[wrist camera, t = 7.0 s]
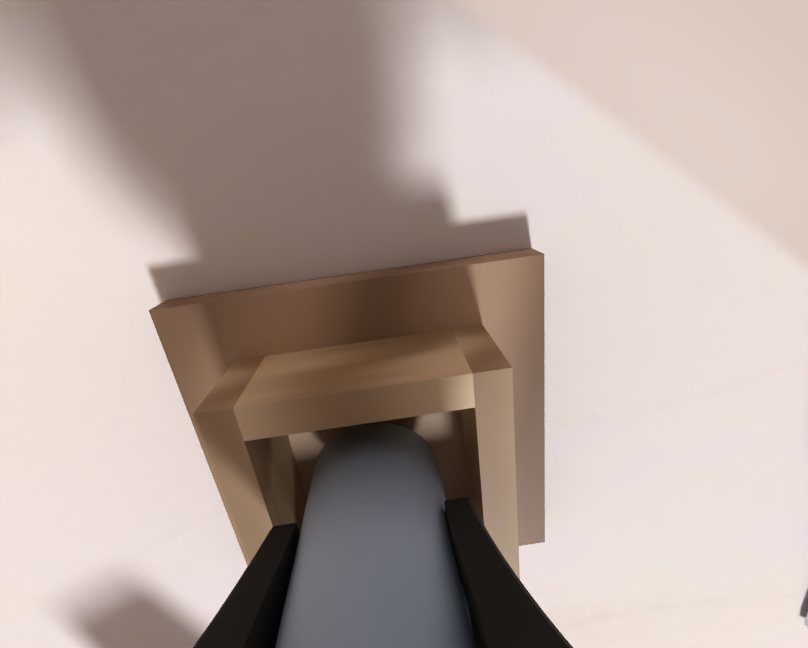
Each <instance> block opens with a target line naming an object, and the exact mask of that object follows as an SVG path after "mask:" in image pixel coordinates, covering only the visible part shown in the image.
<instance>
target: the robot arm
mask: <svg viewBox="0 0 808 648" xmlns="http://www.w3.org/2000/svg"><path fill="white" fill-rule="evenodd" d="M444 504H445V512H446V517H447V522H448V527H449V532H450V537H451V542H452V547H453V551H454V555H455V558H456V562H457V566H458V570H459V574H460V577H461V581H462V585H463V589H464V593H465V597H466V601H467V606H468V610H469V615H470V620H471V625H472V630H473V635H474V639H475V644H476V648H573V647H572V646H571V645H570V644H569V642H568V641H567V640H566V639H565V638H564V636H563V635H562V634H561V633H560V632H559V630H558V629H557V628H556V627H555V626H554V624H553V623H552V622H551V621H550V619H549V618H548V617H547V616H546V614H545V613H544V612H543V610H542V609H541V608H540V607H539V605H538V604H537V603H536V601H535V600H534V599H533V597H532V596H531V595H530V593H529V592H528V591H527V589H526V588H525V587H524V585H523V584H522V582H521V581H520V580H519V578H518V577H517V575H516V574H515V573H514V571H513V570H512V568H511V567H510V565H509V564H508V562H507V561H506V559H505V558H504V556H503V555H502V553H501V552H500V550H499V549H498V547H497V546H496V544H495V543H494V541H493V539H492V538H491V536H490V534H489V533H488V531H487V529H486V528H485V526H484V524H483V522H482V520H481V519H480V517H479V515H478V513H477V511H476V509H475V507H474V505H473V502H472V500H470V499H469V498H467V497H466V498H460V499H453V500H446V501H444ZM299 535H300V532H299V529H298V525H297V523H291V524H284V525H277V526H273V527H272V529H271V530H270V531H269V533H268V535H267V536H266V538H265V539H264V541H263V543H262V544H261V546H260V548H259V549H258V551H257V552H256V554H255V556H254V557H253V559H252V560H251V562H250V564H249V565H248V567H247V568H246V570H245V572H244V573H243V575H242V576H241V578H240V579H239V581H238V583H237V584H236V586H235V587H234V589H233V590H232V592H231V593H230V595H229V596H228V598H227V599H226V601H225V602H224V604H223V605H222V607H221V608H220V610H219V611H218V613H217V614H216V616H215V617H214V619H213V620H212V622H211V623H210V624H209V626H208V627H207V629H206V630H205V631H204V633H203V634H202V636H201V637H200V638H199V640H198V641H197V643H196V644H195V645H194V647H193V648H275V645H276V640H277V636H278V631H279V627H280V622H281V618H282V613H283V608H284V604H285V599H286V595H287V590H288V586H289V581H290V576H291V572H292V567H293V563H294V558H295V554H296V549H297V545H298V540H299ZM805 626H806V627H807V628H808V613H807V616H806V619H805Z"/></svg>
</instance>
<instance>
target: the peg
mask: <svg viewBox="0 0 808 648" xmlns="http://www.w3.org/2000/svg"><path fill="white" fill-rule="evenodd" d="M444 501H446V498H445V494H444V489H443V484H442V479H441V474H440V469H439V464H438V460H437V457H436V454H435V452H434V451H433V449H432V447H431V446H430V445H429V443H428V442H427V441H426V440H425V439H424V438H423V437H421V436H420V435H419V434H417V433H416V432H414V431H412V430H410V429H408V428H406V427H403V426H400V425H396V424H391V423H381V422H374V423H366V424H360V425H357V426H354V427H350V428H348V429H346V430H344V431H342V432H340V433H339V434H337V435H336V436H334V437H333V438H332V439H331V440H329V442H328V443H327V444H326V445H325V446H324V447H323V449H322V450H321V451H320V453H319V455H318V457H317V460H316V463H315V467H314V471H313V476H312V481H311V485H310V490H309V494H308V499H307V503H306V508H305V513H304V517H303V522H302V526H301V531H300V535H299V540H298V545H297V549H296V554H295V558H294V563H293V567H292V572H291V576H290V581H289V586H288V590H287V595H286V599H285V604H284V608H283V613H282V618H281V622H280V627H279V631H278V636H277V640H276V645H275V648H476V644H475V639H474V635H473V630H472V625H471V620H470V615H469V610H468V606H467V601H466V597H465V593H464V589H463V585H462V581H461V577H460V574H459V570H458V566H457V562H456V558H455V555H454V551H453V547H452V542H451V537H450V532H449V527H448V522H447V517H446V512H445V504H444Z"/></svg>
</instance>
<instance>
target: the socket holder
mask: <svg viewBox="0 0 808 648" xmlns="http://www.w3.org/2000/svg"><path fill="white" fill-rule="evenodd" d="M149 312H150V315H151V317H152V320H153V322H154V325H155V328H156V330H157V333H158V335H159V338H160V341H161V343H162V346H163V348H164V351H165V353H166V356H167V359H168V361H169V364H170V366H171V369H172V372H173V374H174V377H175V379H176V382H177V384H178V387H179V390H180V392H181V395H182V397H183V400H184V403H185V405H186V408H187V410H188V413H189V415H190V418H191V421H192V423H193V426H194V428H195V431H196V434H197V436H198V439H199V441H200V444H201V447H202V449H203V452H204V454H205V457H206V459H207V462H208V465H209V467H210V470H211V472H212V475H213V478H214V480H215V483H216V485H217V488H218V490H219V493H220V496H221V498H222V501H223V503H224V506H225V509H226V511H227V514H228V516H229V519H230V521H231V524H232V527H233V529H234V532H235V534H236V537H237V540H238V542H239V545H240V547H241V550H242V552H243V555H244V558H245V560H246V563H247V565H249V564H250V562H251V560H252V559H253V557H254V556H255V554H256V552H257V551H258V549H259V548H260V546H261V544H262V543H263V541H264V539H265V538H266V536H267V535H268V533H269V531H270V530H271V529H272V527H273V526H277V525H284V524H291V523H297V525H298V529H299V532H300V531H301V526H302V522H303V517H304V513H305V508H306V503H307V499H308V494H309V490H310V485H311V481H312V476H313V471H314V467H315V463H316V460H317V457H318V455H319V453H320V451H321V450H322V449H323V447H324V446H325V445H326V444H327V443H328V442H329V440H331V439H332V438H333V437H334V436H336V435H337V434H339V433H340V432H342V431H344V430H346V429H348V428H350V427H354V426H357V425H360V424H366V423H374V422H381V423H391V424H396V425H400V426H403V427H406V428H408V429H410V430H412V431H414V432H416V433H417V434H419V435H420V436H421V437H423V438H424V439H425V440H426V441H427V442H428V443H429V445H430V446H431V447H432V449H433V451H434V452H435V454H436V457H437V460H438V464H439V469H440V474H441V479H442V484H443V489H444V494H445V498H446V500H453V499H460V498H466V497H467V498H469V499H470V500H472V502H473V505H474V507H475V509H476V511H477V513H478V515H479V517H480V519H481V520H482V522H483V524H484V526H485V528H486V529H487V531H488V533H489V534H490V536H491V538H492V539H493V541H494V543H495V544H496V546H497V547H498V549H499V550H500V552H501V553H502V555H503V556H504V558H505V559H506V561H507V562H508V564H509V565H510V567H511V568H512V570H513V571H514V573H515V574H516V575H517V577H518V578H519V580H520V577H519V548H518V546H521V545H528V544H534V543H541V542H545V508H544V254H543V253H541V252H538V251H536V250H534V249H525V250H518V251H511V252H504V253H497V254H490V255H483V256H475V257H468V258H461V259H454V260H447V261H440V262H433V263H426V264H419V265H412V266H405V267H398V268H391V269H384V270H377V271H370V272H363V273H356V274H349V275H342V276H335V277H328V278H321V279H314V280H307V281H300V282H293V283H286V284H279V285H272V286H265V287H258V288H251V289H244V290H237V291H230V292H223V293H216V294H209V295H201V296H194V297H187V298H180V299H173V300H166V301H164V302H163V303H161V304H159V305H157V306H156V307H154V308H152V309H151V310H149Z"/></svg>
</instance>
